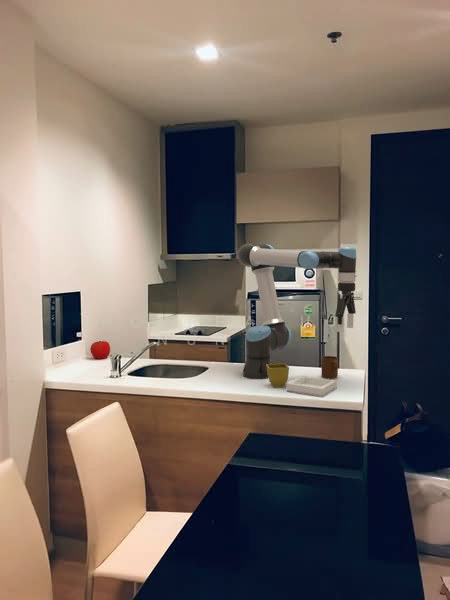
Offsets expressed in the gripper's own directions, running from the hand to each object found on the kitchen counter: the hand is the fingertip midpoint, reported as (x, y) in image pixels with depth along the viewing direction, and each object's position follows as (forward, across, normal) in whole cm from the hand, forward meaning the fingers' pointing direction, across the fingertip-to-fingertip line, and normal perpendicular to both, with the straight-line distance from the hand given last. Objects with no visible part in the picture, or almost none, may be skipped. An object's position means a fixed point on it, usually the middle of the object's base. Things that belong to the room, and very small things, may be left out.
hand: (345, 329), depth 225 cm
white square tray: (+24, -19, +8) cm, 32 cm away
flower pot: (+25, -19, +24) cm, 39 cm away
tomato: (+27, -13, +139) cm, 142 cm away
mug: (+25, +6, +8) cm, 27 cm away
